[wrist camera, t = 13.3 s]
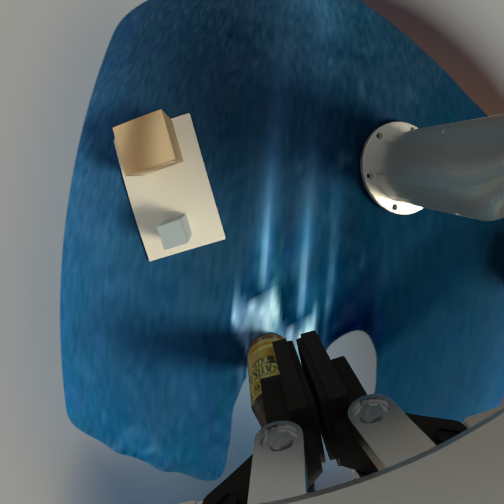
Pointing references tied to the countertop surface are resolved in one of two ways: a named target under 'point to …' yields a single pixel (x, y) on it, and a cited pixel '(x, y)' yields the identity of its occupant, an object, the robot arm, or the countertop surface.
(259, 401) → the sauce bottle
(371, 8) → the countertop surface
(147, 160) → the wood grain cube
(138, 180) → the post stand
